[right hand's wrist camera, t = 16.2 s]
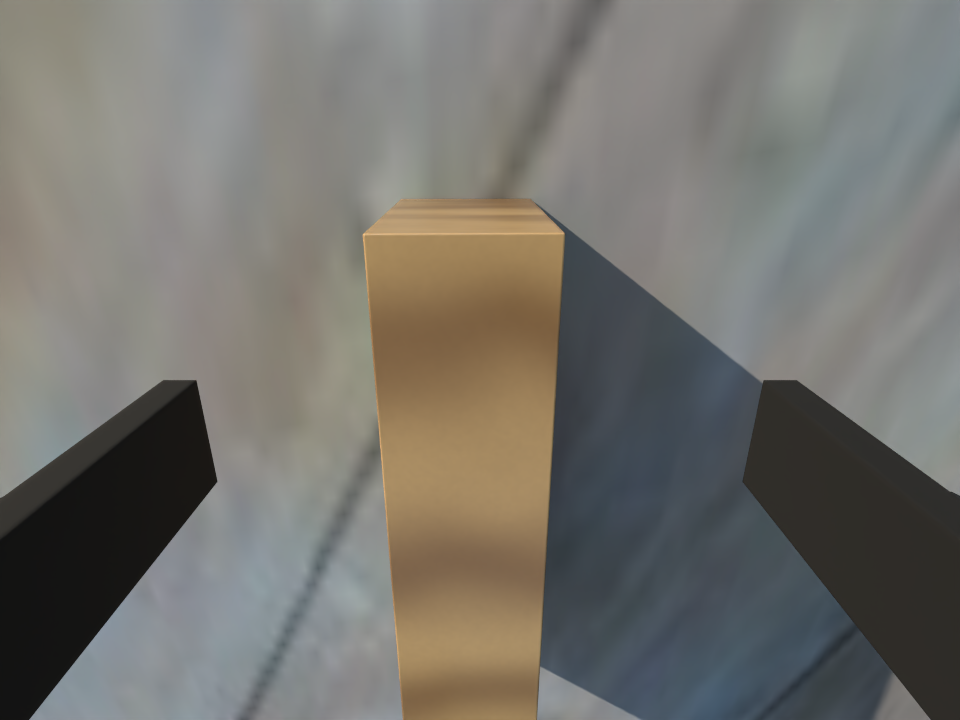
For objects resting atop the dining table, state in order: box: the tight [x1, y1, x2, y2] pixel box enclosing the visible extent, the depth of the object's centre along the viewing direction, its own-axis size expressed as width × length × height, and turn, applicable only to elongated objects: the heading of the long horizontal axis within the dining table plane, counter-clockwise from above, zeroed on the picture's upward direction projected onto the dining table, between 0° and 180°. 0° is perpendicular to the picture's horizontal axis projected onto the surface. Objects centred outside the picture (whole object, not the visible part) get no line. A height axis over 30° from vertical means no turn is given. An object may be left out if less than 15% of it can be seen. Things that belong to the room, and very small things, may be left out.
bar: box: [363, 199, 565, 720], centre depth 25 cm, size 24×6×9 cm, turn 0°
